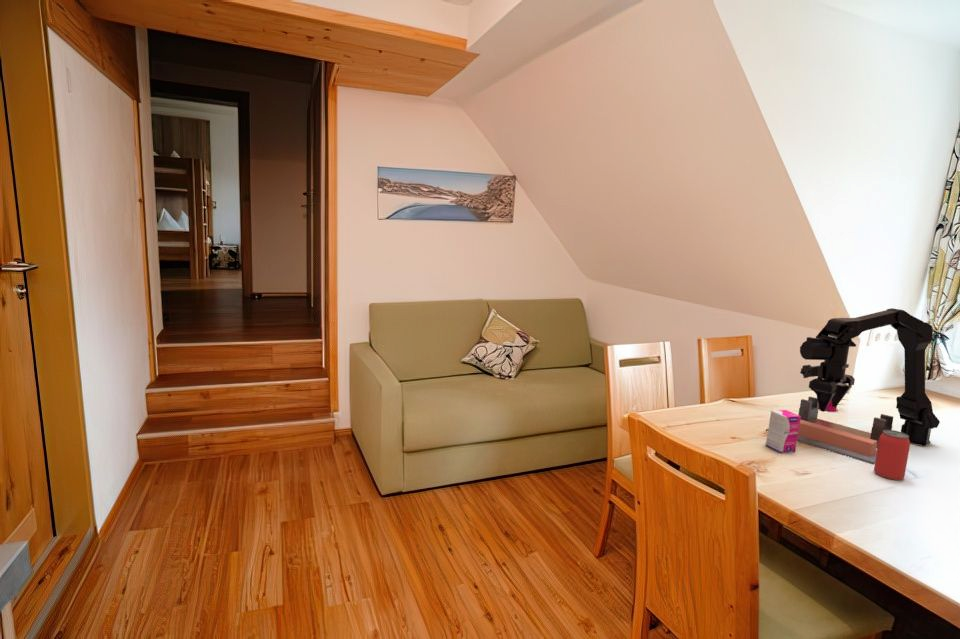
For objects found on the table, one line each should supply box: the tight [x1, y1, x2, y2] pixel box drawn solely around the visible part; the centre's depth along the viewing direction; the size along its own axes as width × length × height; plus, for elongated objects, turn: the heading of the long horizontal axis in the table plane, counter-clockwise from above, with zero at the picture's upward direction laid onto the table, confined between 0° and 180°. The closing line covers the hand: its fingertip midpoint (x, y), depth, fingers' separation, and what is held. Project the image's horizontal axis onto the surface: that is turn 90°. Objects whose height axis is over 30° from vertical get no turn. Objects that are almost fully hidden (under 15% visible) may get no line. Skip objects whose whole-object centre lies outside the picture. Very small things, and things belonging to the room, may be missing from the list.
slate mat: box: [765, 428, 877, 465], centre depth 165 cm, size 30×12×1 cm, turn 37°
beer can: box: [873, 429, 911, 481], centre depth 142 cm, size 7×7×12 cm
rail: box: [798, 420, 877, 457], centre depth 165 cm, size 26×4×4 cm, turn 37°
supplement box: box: [765, 409, 801, 454], centre depth 158 cm, size 6×6×12 cm
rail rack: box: [797, 396, 894, 448], centre depth 173 cm, size 28×10×9 cm, turn 37°
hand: (828, 408), depth 164 cm, fingers open, 9 cm apart
